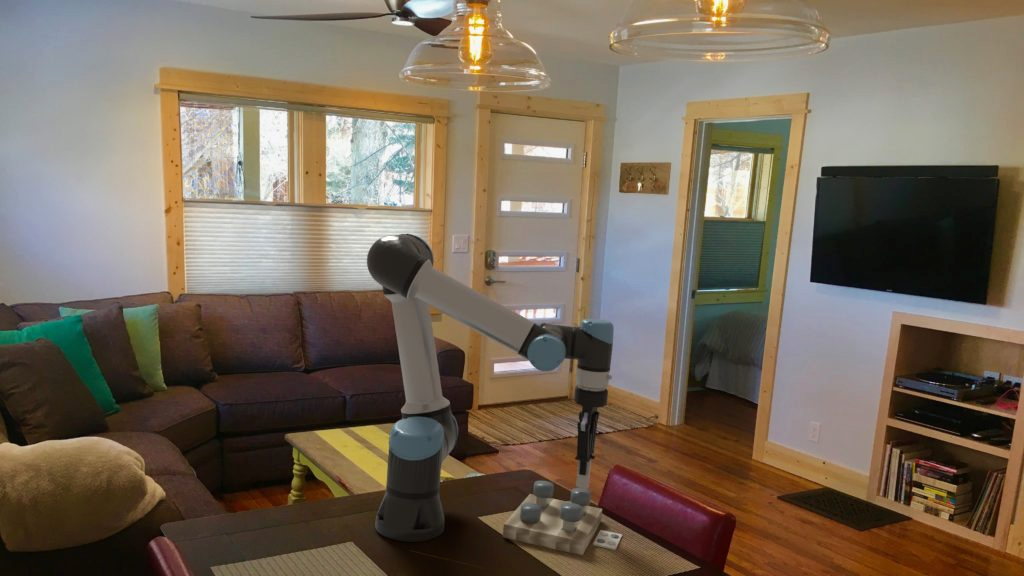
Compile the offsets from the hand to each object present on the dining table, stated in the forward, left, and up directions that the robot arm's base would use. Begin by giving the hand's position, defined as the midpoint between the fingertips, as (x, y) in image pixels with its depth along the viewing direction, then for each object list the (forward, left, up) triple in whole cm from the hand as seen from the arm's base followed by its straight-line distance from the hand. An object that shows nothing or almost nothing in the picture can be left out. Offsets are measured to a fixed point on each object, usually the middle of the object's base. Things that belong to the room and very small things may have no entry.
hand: (582, 486), depth 174 cm
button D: (0, 0, -7) cm, 7 cm away
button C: (0, -10, -7) cm, 12 cm away
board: (-5, -5, -9) cm, 11 cm away
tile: (+8, -5, -9) cm, 13 cm away
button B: (-9, 0, -7) cm, 11 cm away
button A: (-9, -10, -9) cm, 16 cm away
